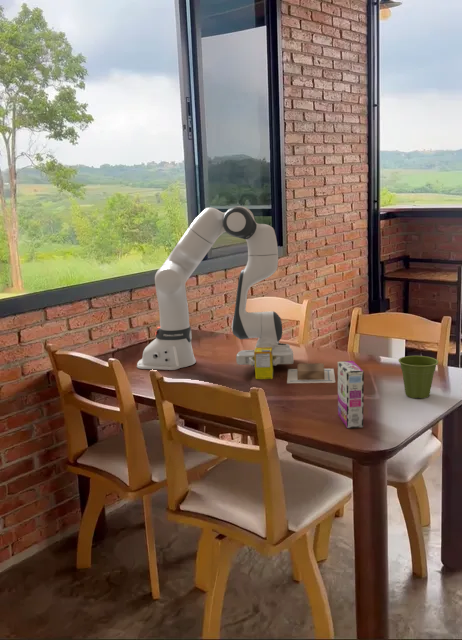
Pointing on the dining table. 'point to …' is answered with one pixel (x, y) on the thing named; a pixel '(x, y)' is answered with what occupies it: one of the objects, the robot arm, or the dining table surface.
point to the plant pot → (418, 375)
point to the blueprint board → (328, 378)
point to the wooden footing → (310, 371)
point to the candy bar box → (350, 394)
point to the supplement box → (263, 363)
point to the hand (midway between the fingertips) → (263, 363)
